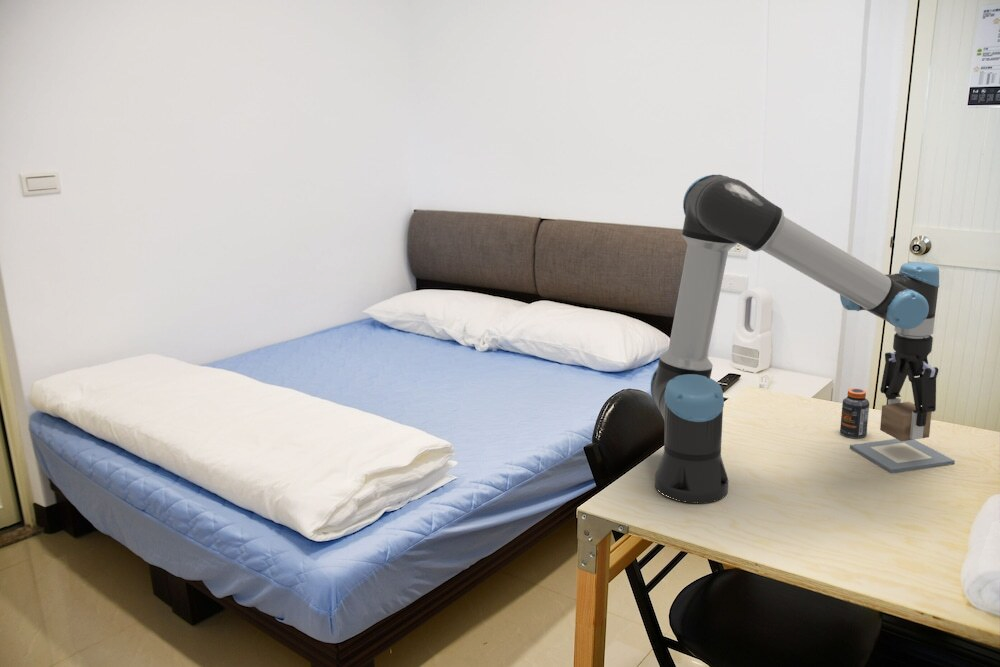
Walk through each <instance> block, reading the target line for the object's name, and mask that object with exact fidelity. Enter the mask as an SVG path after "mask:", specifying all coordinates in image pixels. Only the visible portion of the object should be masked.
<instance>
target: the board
mask: <svg viewBox="0 0 1000 667" xmlns="http://www.w3.org/2000/svg"><path fill="white" fill-rule="evenodd" d="M849 449H851V450H852V451H853V452H856V453H857V454H858V455H860V456H862V457H864V458H866V459H867V460H869V461H870V462H872V463H874V464H875V465H877V466H879V467H880V468H882V469H884V471H887V472H888V473H890V474H893V473H894V474H895V473H901V472H907V471H908V472H909V471H914V470H922V469H928V468H935V467H936V466H937V467H943V466H942V465H944V466H949V464H951V465H955V460H954V459H952V458H950V457H949V456H947V455H945V454H943V453H941V452H939V451H937V450H936V449H934V448H931V447H929V446H927V445H925V444H923V443H922V442H920V441H919V440H917V439H914V440H908V441H900V440H898V439H896V438H891V439H884V440H876V441H871V442H861V443H855V444H853V443H852V444H849Z"/></svg>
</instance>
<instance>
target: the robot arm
mask: <svg viewBox="0 0 1000 667" xmlns="http://www.w3.org/2000/svg"><path fill="white" fill-rule="evenodd" d="M682 208H683V213H684V216H685V217H684V221H683V227H682V231H681V232H682V234H681V237H682V238H683V239H684V241H685V243H686V244H687V246H686V249H685V250H686V251H685V257H684V261H683V262H684V263H683V267H682V274H681V279H680V284H679V290H678V295H677V298H676V299H677V301H676V304H675V311H674V315H673V316H674V317H673V322H672V327H671V333H670V338H669V339H670V340H669V342H668V343H669V344H668V349H667V350H666V351H665V352H663V353H661V354H660V355H659V359H658V366H657V368H656V369H655V370H654V371H653V374H652V376H651V378H650V379H651V380H650V393H651V398H652V400H653V402H654V404H655V405H656V406H657V408H658V411H659V412H660V414H661V416H662V418H663V420H664V438H663V439H664V441H663V442H664V443H663V445H664V446H663V453H662V456H661V459H660V461H659V464H658V466H657V470H656V472H655V476H654V487H655V486H656V487H655V489H656V488H657V489H658V490H659V491H660V492H661V493H663V494H664V495H667V496H669V497H671V498H674V499H677V500H680V501H686V502H696V503H695V504H704V503H703V502H708V503H711V502H710V501H713V502H715V501H714V500H717V499H719V500H721V499H723V498H724V497H726V495H727V494H728V492H729V477H728V474H727V471H726V468H725V465H724V462H723V458H722V434H723V433H722V432H723V417H724V416H723V415H724V414H723V413H724V405H725V399H724V392H723V391H724V390H723V388H722V385H720V383H718V382H717V381H716V380H714V379H713V378H711V376H712V370H713V363H712V362H711V361H710V359H709V357H708V353H709V350H710V345H711V339H712V335H713V329H714V325H715V321H716V319H715V318H716V315H717V310H718V306H719V305H718V304H719V300H720V294H721V288H722V284H723V279H724V274H725V268H726V264H727V259H728V253H729V251H730V250H731V249H733V248H734V247H736V245H741V246H743V247H745V248H747V249H749V250H750V251H752V252H754V253H756V252H759V251H760V252H761V251H762V252H764V253H766V254H767V255H769V256H772V257H774V258H775V259H777V260H779V261H780V262H782V263H784V264H786V265H788V266H789V267H791V268H793V270H796V271H799V272H800V273H801V274H803V275H805V276H807V277H808V278H811V279H812V280H814V281H816V282H817V283H819V284H821V285H823V286H825V287H826V288H828V289H829V290H831V291H833V292H835V293H837V294H839V298H840V303H841V305H842V307H843V308H844V309H845V310H847V311H856V312H860V311H867V312H869V313H870V314H872V315H875V316H877V317H878V318H881V319H882V320H884V321H885V322H888V323H889V324H890V325H892V326H894V332H895V333H894V334H893V343H892V349H893V351H890V352H885V354H884V360H885V361H884V362H885V363H884V369H883V373H882V374H883V375H882V380H881V386H880V389H879V390H880V393H881V394H884V395H885V398H886V404H885V405H889V404H896V403H902V402H901V398H900V397H902V395H900V393H901V391H902V388H903V386H904V384H905V382H906V379H907V377H908V381H909V382H910V383H911V389H912V396H913V402H914V403H913V404H915V409H916V410H913V411H912V420H911V430H910V439H911V440H921V439H924V438H923V430H924V426H925V425H926V417H927V412H933V413H934V412H936V410H937V377H938V373H939V368H938V367H936V366H935V367H932V366H931V365H930V364H929V360H928V356H929V355H930V353H932V351H933V350H932V349H933V342H934V337H933V336H932V335H933V334H934V332H935V330H934V329H935V319H936V311H937V310H936V309H937V303H938V294H939V288H940V269H939V267H938V266H937V265H935V264H933V263H928V262H920V261H919V262H918V261H917V262H908V263H907V262H905V263H903V264H901V266H900V268H899V273H894V274H893V273H891V274H884V273H882V272H881V271H879V270H878V269H876V268H874V267H872V266H871V265H869V264H867V263H865V262H864V261H862V260H860V259H858V258H856V256H855V257H854V256H853V255H851V254H850V253H848V252H846V251H845V250H843V249H841V248H839V247H838V246H836V245H834V244H832V243H830V242H829V241H827V240H825V239H824V238H822V237H820V236H818V235H817V234H815V233H813V232H812V231H810V230H808V229H807V228H805V227H803V226H802V225H799V224H797V223H796V222H795V221H792V220H791V219H789V218H787V217H786V216H785V215H784V209H783V208H781V207H779V206H778V205H776V204H774V203H773V202H771V201H769V200H768V199H767V198H766V197H764V196H762V194H760V193H759V192H757V191H756V190H755V189H754V188H752V187H751V186H750V185H748V184H747V183H746V182H744V181H742V180H739V179H736V178H733V177H729V176H727V175H723V174H709V175H704V176H701V177H700V178H698V179H696V180H695V181H694V182H692V183H691V184H690V185H689V186H688V188H687V190H686V192H685V194H684V196H683V203H682ZM657 489H656V490H657ZM658 490H657V491H658ZM661 493H660V494H661ZM664 495H663V496H664ZM723 496H724V497H723ZM722 497H723V498H722ZM720 498H721V499H720ZM680 501H679V502H680ZM717 501H718V500H717ZM686 502H685V503H686ZM697 502H698V503H697ZM701 502H702V503H701Z"/></svg>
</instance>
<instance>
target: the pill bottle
mask: <svg viewBox="0 0 1000 667" xmlns="http://www.w3.org/2000/svg"><path fill="white" fill-rule="evenodd" d="M846 395H847V396H846V397H844V398H843V399H842V406H841V416H840V417H841V419H840V428H839V432H840V434H841V435H843V436H844V437H846V436H847V437H846V438H850V439H851V438H852V439H863V438H864V437H866V436H867V433H868V432H867V431H868V423H869V412H870V401H869V400H868V399H867V398H866V396H867V391H866V390H865V389H862V388H857V387H856V388H855V387H854V388H849V389H848V390H847V394H846Z"/></svg>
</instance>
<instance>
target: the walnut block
mask: <svg viewBox="0 0 1000 667" xmlns="http://www.w3.org/2000/svg"><path fill="white" fill-rule="evenodd" d="M913 410H916V409H915V403H913V402H910V401H904V402H900V403H896V404H889V405H886V404H882V406H881V412H880V413H881V414H880V427H879V430H880V431H881V432H883V433H885V434H887V435H889V436H891V437H892V438H893V439H898V440H900V441H908V440H911V439H910V430H911V420H912V411H913ZM932 414H933V413H932V412H927V417H926V425H925V426H924V430H923V438H922V439H925V438H926V439H927V438H930V433H931V432H930V431H931V421H932Z"/></svg>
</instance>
